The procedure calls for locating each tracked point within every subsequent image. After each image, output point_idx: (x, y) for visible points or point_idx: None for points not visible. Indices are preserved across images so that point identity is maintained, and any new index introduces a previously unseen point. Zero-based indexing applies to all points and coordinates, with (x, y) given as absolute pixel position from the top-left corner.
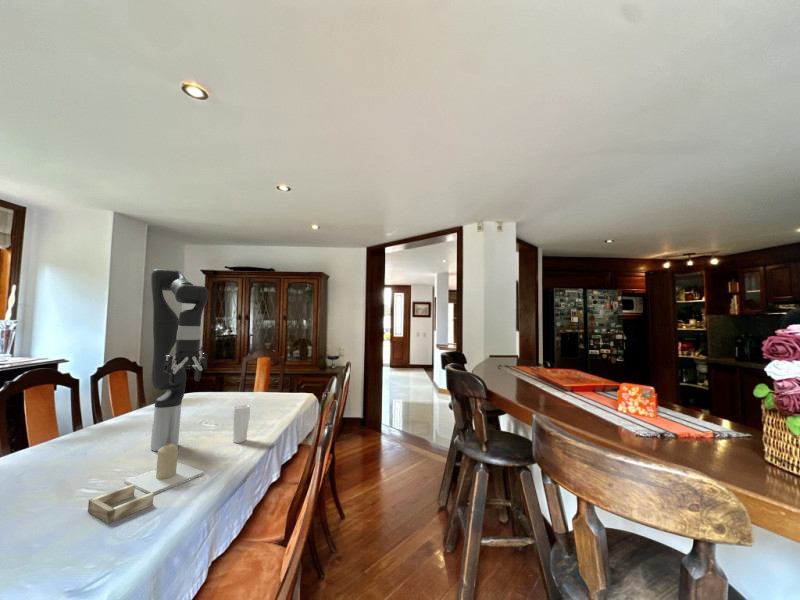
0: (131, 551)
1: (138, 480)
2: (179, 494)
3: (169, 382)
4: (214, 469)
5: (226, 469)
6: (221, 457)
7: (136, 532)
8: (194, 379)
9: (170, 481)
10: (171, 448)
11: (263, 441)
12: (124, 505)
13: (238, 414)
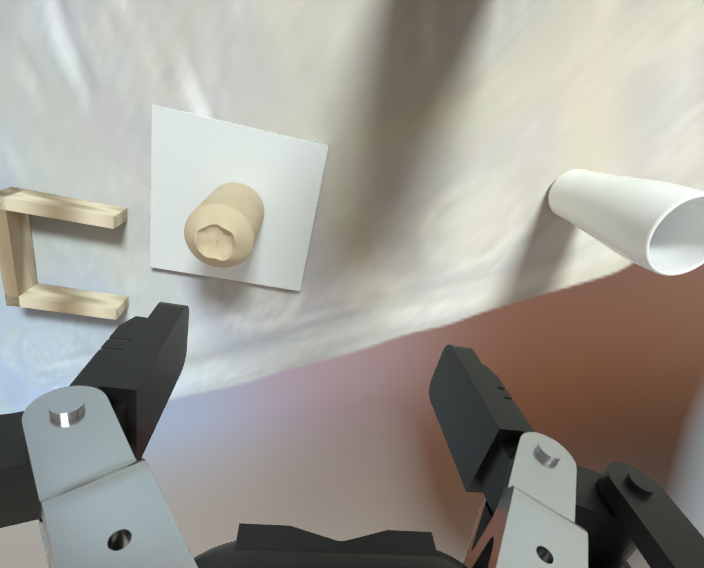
0: (20, 406)
1: (174, 155)
2: (191, 320)
3: (133, 322)
4: (335, 290)
5: (346, 319)
6: (417, 243)
7: (51, 367)
8: (452, 348)
9: None
10: (214, 262)
11: (570, 272)
12: (42, 309)
13: (621, 240)
